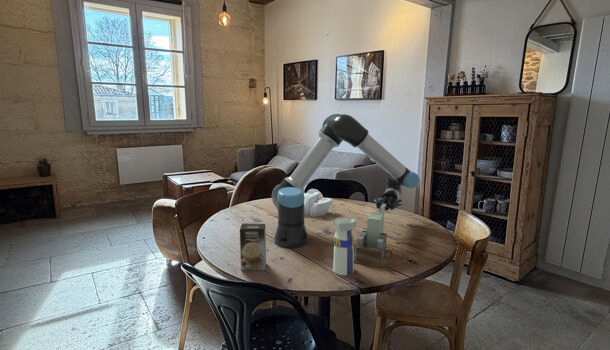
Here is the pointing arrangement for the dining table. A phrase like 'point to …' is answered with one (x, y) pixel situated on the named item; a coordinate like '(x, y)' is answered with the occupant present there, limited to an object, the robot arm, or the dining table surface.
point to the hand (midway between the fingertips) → (381, 210)
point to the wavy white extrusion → (316, 205)
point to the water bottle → (343, 245)
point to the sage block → (374, 228)
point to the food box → (253, 246)
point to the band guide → (372, 251)
